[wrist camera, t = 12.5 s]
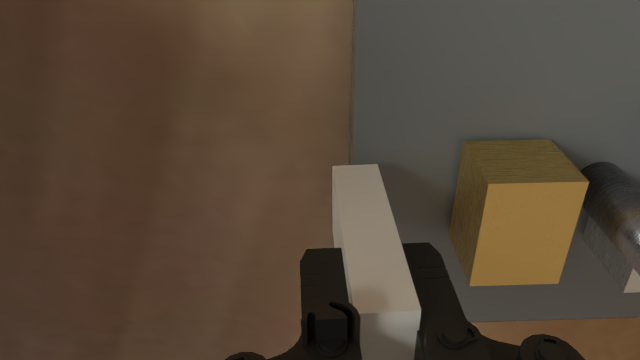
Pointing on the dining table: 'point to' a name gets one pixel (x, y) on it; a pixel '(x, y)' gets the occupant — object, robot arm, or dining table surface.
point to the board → (496, 120)
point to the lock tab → (515, 211)
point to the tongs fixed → (613, 223)
